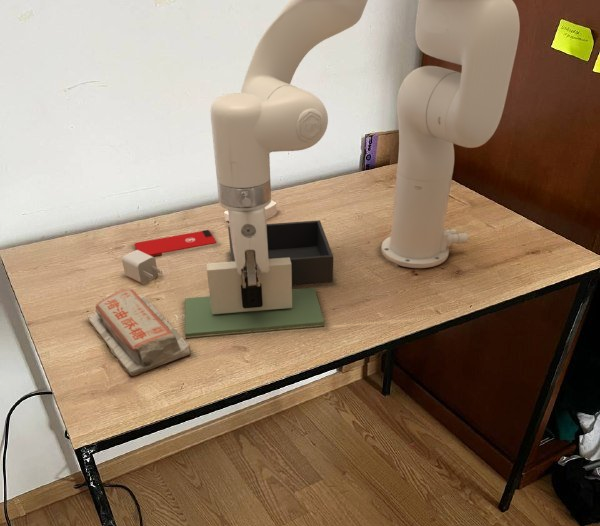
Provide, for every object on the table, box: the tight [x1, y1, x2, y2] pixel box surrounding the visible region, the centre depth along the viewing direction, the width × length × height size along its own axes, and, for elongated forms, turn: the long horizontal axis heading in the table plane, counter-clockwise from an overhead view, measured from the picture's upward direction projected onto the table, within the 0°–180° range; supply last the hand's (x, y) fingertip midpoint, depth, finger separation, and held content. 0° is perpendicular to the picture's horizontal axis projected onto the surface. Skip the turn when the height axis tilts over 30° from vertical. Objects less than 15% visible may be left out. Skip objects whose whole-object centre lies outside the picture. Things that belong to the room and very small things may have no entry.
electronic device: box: [134, 229, 217, 257], centre depth 119 cm, size 6×1×15 cm
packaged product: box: [86, 288, 191, 377], centre depth 95 cm, size 18×5×10 cm
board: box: [206, 257, 293, 314], centre depth 98 cm, size 13×2×8 cm, turn 98°
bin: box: [227, 219, 334, 287], centre depth 111 cm, size 17×14×6 cm
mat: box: [184, 287, 325, 340], centre depth 101 cm, size 22×10×1 cm, turn 98°
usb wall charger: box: [121, 249, 163, 285], centre depth 109 cm, size 4×7×4 cm, turn 50°
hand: (251, 301), depth 99 cm, fingers closed on board, 2 cm apart
